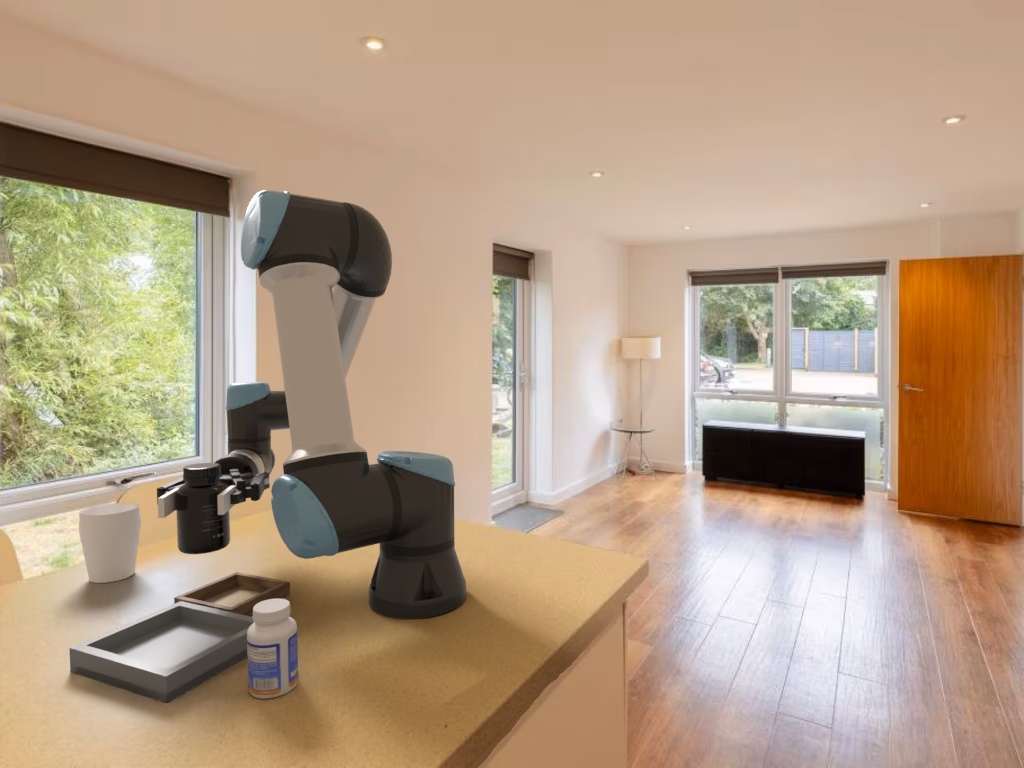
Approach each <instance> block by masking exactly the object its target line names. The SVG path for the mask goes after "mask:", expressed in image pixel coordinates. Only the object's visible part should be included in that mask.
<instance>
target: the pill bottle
mask: <svg viewBox="0 0 1024 768" xmlns="http://www.w3.org/2000/svg"><path fill="white" fill-rule="evenodd" d="M291 612H292V611H291V602H290V601H289V600H287V599H285V598H281V599H269V600H264V601H261V602H259V603H257V604H256V605H255V606H254V607H253V613H252V616H251V617H252V618H253V621H254V623H253V624H252V625H251V626H250V627H249V629H248V631H247V677H248V678H247V684H248V692H249V693H250V695H251V697H253V698H257V699H259V700H260V699H261V700H262V699H263V700H264V699H265V700H267V699H268V700H269V699H273V698H277V697H280V696H283V695H286V694H288V693H289V692H291V691H292V690H294V689H295V688H296V687H297V685H298V682H299V648H298V647H299V644H298V625H297V621H296V620H295V619H294V618H293V617H292V616H290V615H291Z"/></svg>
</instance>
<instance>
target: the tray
mask: <svg viewBox="0 0 1024 768" xmlns="http://www.w3.org/2000/svg"><path fill="white" fill-rule="evenodd" d="M252 617H253V616H250V615H247V616H246V615H241V614H237V613H232V612H228V611H223V610H219V609H214V608H210V607H205V606H201V605H196V604H191V603H187V602H182V601H180V602H178V603H175V604H174V603H173V604H171V605H169V606H166V607H164V608H161V609H158V610H157V611H154V612H151V613H149V614H148V615H145V616H142V617H140V618H137V619H135V620H132V621H131V622H127V623H125V624H123V625H120V626H118V627H116V628H114V629H111V630H108V631H107V632H104V633H102V634H99V635H96V636H94V637H92V638H89V639H88V640H84V641H82V642H80V643H78V644H75V645H73V646H71V647H69V648H68V649H69V669H70V671H69V672H70V673H71V674H72V673H73V674H75V675H78V676H81V677H85V678H88V679H91V680H94V681H98V682H101V683H104V684H107V685H110V686H113V687H116V688H120V689H123V690H126V691H128V692H132V693H136V694H138V695H141V696H144V697H147V698H150V699H153V698H154V700H156V701H159V700H160V702H163V703H166V704H168V703H170V702H172V701H173V700H174V699H176V698H178V697H180V696H182V695H183V694H185V693H187V692H189V691H191V690H192V689H193V687H194V688H196V687H197V686H199V685H200V683H201V684H202V683H204V682H206V681H207V680H210V679H211V678H213V677H214V676H216V675H218V674H220V673H221V672H224V671H225V670H227V669H228V668H230V667H232V666H233V665H235V664H237V663H238V661H239V662H240V661H243V659H245V658H248V656H247V631H248V629H249V627H250V626H251V625H252V624H253V623H254V621H253V618H252ZM236 662H237V663H236ZM231 665H232V666H231ZM188 690H189V691H188ZM186 691H187V692H186Z"/></svg>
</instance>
